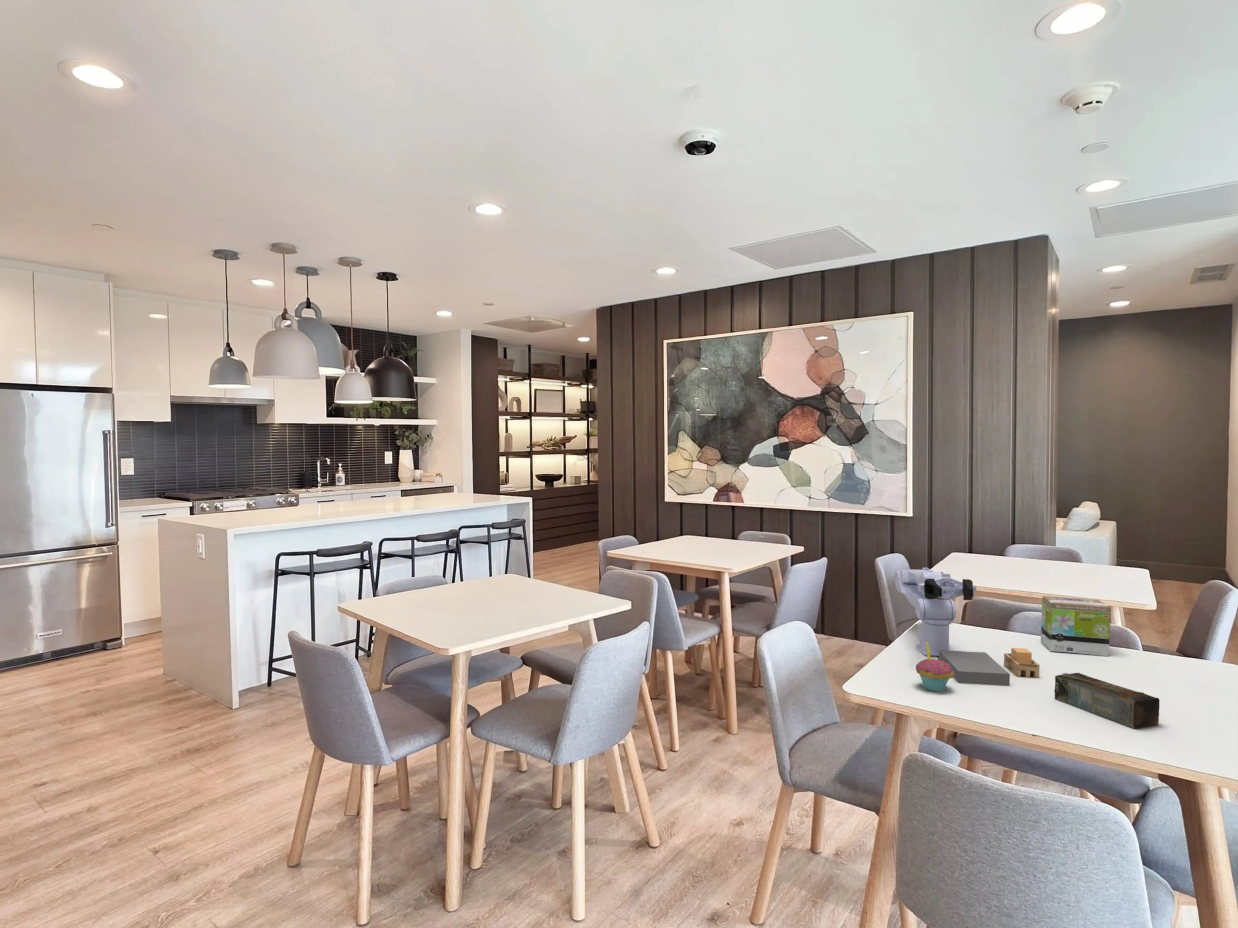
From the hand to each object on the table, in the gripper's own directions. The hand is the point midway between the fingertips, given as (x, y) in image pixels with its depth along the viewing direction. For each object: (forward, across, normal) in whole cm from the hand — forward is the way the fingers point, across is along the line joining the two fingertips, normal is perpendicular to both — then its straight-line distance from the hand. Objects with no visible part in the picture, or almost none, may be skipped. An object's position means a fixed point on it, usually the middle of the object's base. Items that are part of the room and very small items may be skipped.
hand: (956, 592), depth 181 cm
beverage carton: (+19, +26, +24) cm, 40 cm away
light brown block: (-6, +18, +19) cm, 26 cm away
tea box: (-30, +41, +20) cm, 55 cm away
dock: (-4, +5, +22) cm, 22 cm away
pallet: (-7, +18, +22) cm, 29 cm away
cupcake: (+10, -8, +23) cm, 26 cm away
